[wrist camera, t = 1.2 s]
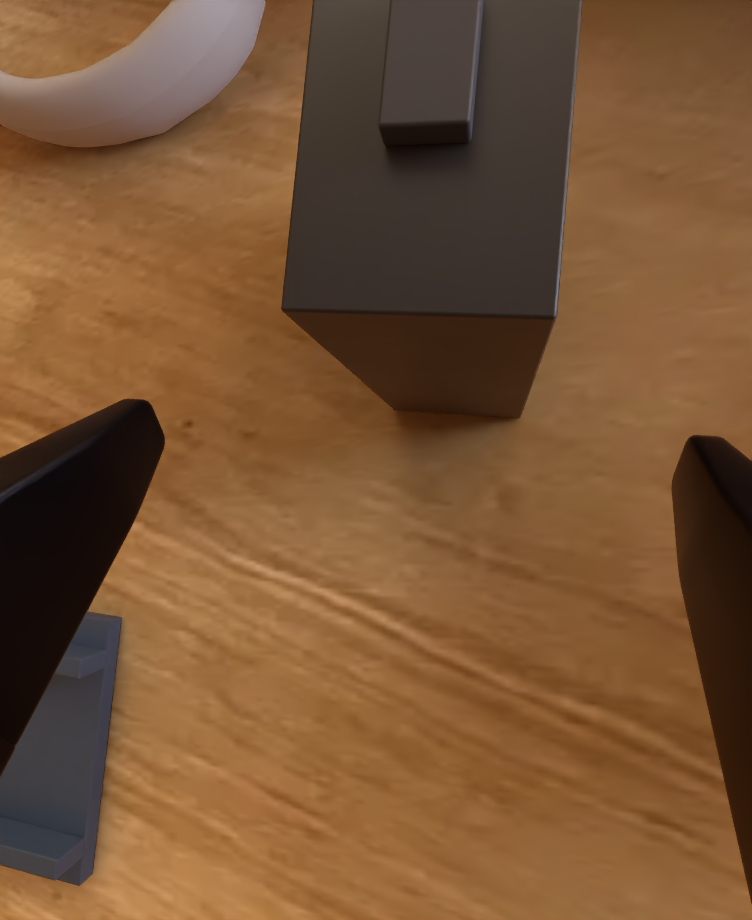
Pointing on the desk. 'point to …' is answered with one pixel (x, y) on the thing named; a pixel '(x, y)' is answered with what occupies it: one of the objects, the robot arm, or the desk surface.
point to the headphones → (138, 78)
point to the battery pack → (434, 195)
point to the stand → (62, 762)
